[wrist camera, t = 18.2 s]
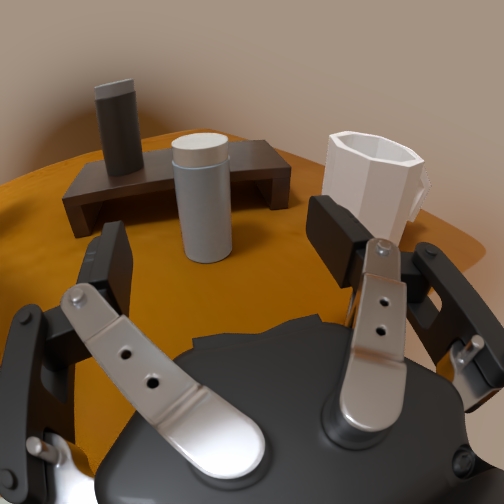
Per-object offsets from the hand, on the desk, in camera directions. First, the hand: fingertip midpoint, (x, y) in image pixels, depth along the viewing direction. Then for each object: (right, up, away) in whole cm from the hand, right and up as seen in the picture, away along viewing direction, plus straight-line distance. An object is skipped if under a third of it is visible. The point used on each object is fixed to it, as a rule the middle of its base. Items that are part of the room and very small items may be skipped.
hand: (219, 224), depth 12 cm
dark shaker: (-13, +8, +17) cm, 23 cm away
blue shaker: (-3, -1, +14) cm, 14 cm away
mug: (+13, 0, +16) cm, 21 cm away
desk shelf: (-7, +5, +21) cm, 23 cm away
